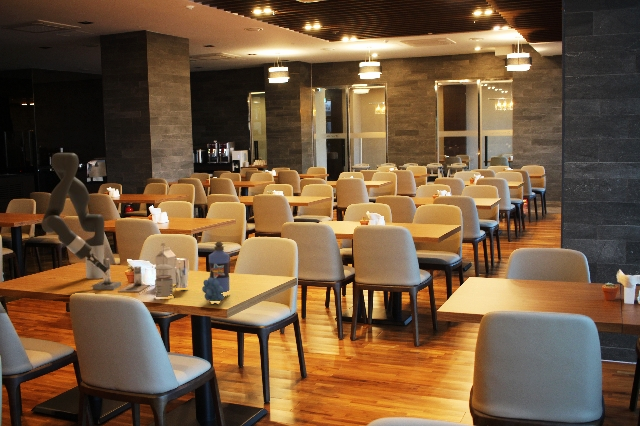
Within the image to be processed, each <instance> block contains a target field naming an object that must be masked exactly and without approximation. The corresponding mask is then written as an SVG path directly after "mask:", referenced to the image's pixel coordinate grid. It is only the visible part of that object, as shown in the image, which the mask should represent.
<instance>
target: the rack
mask: <svg viewBox="0 0 640 426" xmlns="http://www.w3.org/2000/svg"><path fill="white" fill-rule="evenodd" d="M145 284H146V283H142V286H134V283H129V284H128V285H126V286H125V287H122V288H120V290H118V291H117V293H132V294H134V293H136V294H137V293H138V294H140V293H141V292H143V291H145V290H146V289H148V288H149V287H151V286H150V285H145Z"/></svg>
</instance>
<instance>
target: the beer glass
mask: <svg viewBox="0 0 640 426" xmlns="http://www.w3.org/2000/svg"><path fill="white" fill-rule="evenodd" d="M174 272H175V278H176V286H175V289H176V288H186V287H188V288H189V285H188V284H189V283H188V280H189V272H190V263H189V257H188V258H186V257H179V258H177V257H176V259H174Z"/></svg>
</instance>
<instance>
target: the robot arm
mask: <svg viewBox="0 0 640 426" xmlns="http://www.w3.org/2000/svg"><path fill="white" fill-rule="evenodd" d="M79 162H80V160H79V156H78V155H77V154H76V153H74V152H57V153H54V154H53V155H52V157H51V164H52V168H53V170H54V172H55V173H56V175H57V176H58V178H59V179H60V182H59V183H58V184H57V185H56V186H55V187H54V189H52V191H51V193H50V195H49V199H48V204H47V209H46V210H45V212H44V216H43V218H42V221H41V227H42V230H43V231H44V232H46V233H48V234H51V233H55V234H56V235H57V239H58V241H59V242H61V243H62V244H63V245H64V246H65V247H66V248H67V249H68V250H69V251H70V252H71V253H73V254H74V255H75V256H76V257H77V258H79V260H83V259H85V276H86V277H85V279H90V280H97V279H103V272H106V271H107V270H108V269H107V268H106V267H105V266H104V265H103V259H104V258H105V247H104V246H105V245H104V244H105V218H104V216H103V215H102V214H96V213H95V214H93V213H92V214H91V213H88V211H87V207H88V205H89V202H90V197H91V196H90V193H89V191H88V189H87V187H86V185H85V184H84V183H83V182H82V181H81V180H80V179H78V178H77V177H76V174H77V171H78V168H79V164H80V163H79ZM67 196H68V198H69V200H70V202H71V203H72V206H73V208H74V210H75V213H76V215H77V218H78V221H79V225H80V227H81V229H82V230H83V232H86V233H94V235H93V236H92V237H90V238H87V239H85V240H84V239H83V238H82V237H80V236H79V235H78V234H76V233H75V232H74V231H73V230H72V229H70V227H69V226H68V225H67V223H66V222H65V221H64V219H63V218H61V217H60V215H61V214H62V213H63V211H64V209H65V204H66V200H67Z"/></svg>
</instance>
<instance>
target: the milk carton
mask: <svg viewBox="0 0 640 426" xmlns="http://www.w3.org/2000/svg"><path fill="white" fill-rule="evenodd" d="M163 251H164V264H168V265H170V266H172V267H173V268H172V269H169V270H164V275H171V276H172V277H171V278H170V279H173V284H176V278H175V272H174V259H177V255H176V254H175V252H173V250H171V247H170V246H169V247H163V248H161V249H160V251H159V253H158V254H157V255H156V256H155V267H156V266H158V265H161V264H163ZM160 271H161V272H162V273H161V272H160V274H159V270H156V269H155V280H156V279H158V278H156V276H158V275H159V276H160V275H162V274H163V270H160ZM161 281H163V279H161ZM156 286H157V285H156Z"/></svg>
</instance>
